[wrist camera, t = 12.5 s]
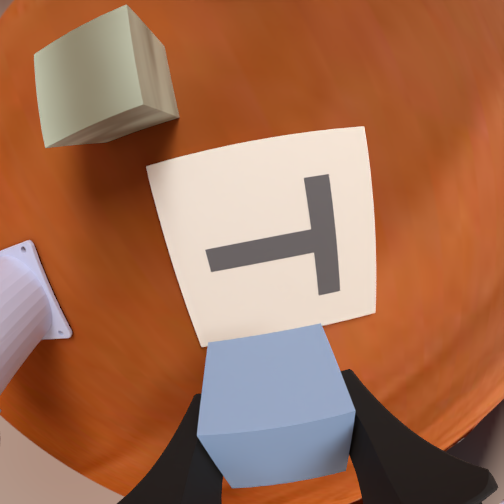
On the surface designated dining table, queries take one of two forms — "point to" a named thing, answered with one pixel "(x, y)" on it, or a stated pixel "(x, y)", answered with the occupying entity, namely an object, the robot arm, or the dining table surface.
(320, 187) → the letter card
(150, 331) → the dining table surface
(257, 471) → the blue cube
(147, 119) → the green block
